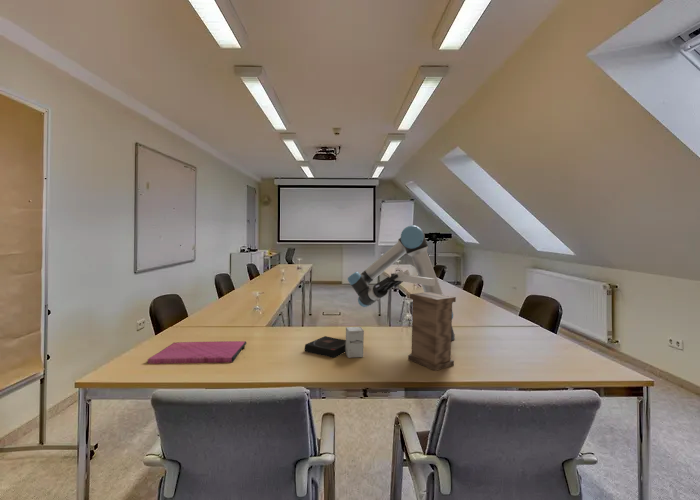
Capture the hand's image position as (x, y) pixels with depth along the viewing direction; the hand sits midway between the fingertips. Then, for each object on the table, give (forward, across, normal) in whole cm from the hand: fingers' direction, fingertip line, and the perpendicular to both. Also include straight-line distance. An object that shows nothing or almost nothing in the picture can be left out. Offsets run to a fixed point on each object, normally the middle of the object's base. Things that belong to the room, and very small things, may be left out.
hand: (405, 272), depth 168 cm
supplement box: (-28, +22, -29) cm, 46 cm away
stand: (-6, -1, -42) cm, 42 cm away
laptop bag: (-63, +80, -9) cm, 102 cm away
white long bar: (+2, 0, -6) cm, 6 cm away
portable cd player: (-39, +29, -23) cm, 54 cm away
